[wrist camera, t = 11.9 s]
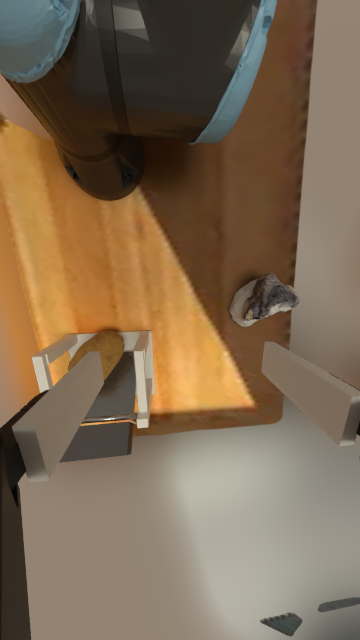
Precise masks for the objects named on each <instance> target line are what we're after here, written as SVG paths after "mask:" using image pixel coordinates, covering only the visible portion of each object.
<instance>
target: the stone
mask: <svg viewBox="0 0 360 640" xmlns="http://www.w3.org/2000/svg"><path fill="white" fill-rule="evenodd" d="M298 303H299V299H298V297H297V296H296V293H295V290H294V289H293V288H292V287H291V286H289V285H283V284H282V283H281V282H280V281H279V280H278V279H277V277H276V276H275V275H274V274H273V273H272V272H270V273H267V274H264V275H262V276H261V277H260V278H259V279H256V280H253V281H251V282H249V283H248V284H246V285H245V286H243V287H241V288H240V289H239V290H238V291H237V292H236V293H235V295H234V297H233V300H232V302H231V305H230V309H229V312H230V314H231V315H232V319H233V320H234V321H235V322H236V323H237V324H239V325H241V326H244V327H247V326H250V325H252V324H253V323H254V322H255V321H257V320H260V319H263V318H265V317H267V316H269V315H273V314H274V313H276V312H278V313H283V312H286V311H289V310H291V309H293V308H295V307H296V306H297V305H298Z"/></svg>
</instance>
